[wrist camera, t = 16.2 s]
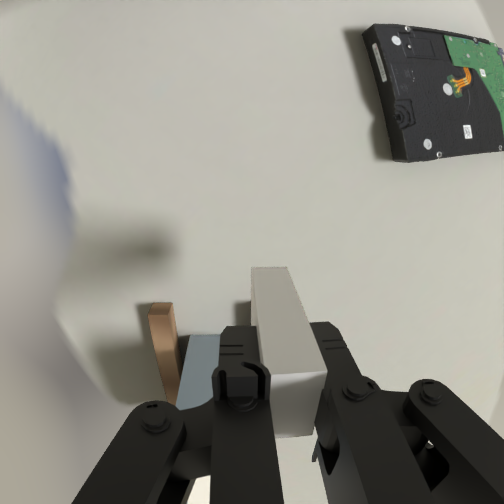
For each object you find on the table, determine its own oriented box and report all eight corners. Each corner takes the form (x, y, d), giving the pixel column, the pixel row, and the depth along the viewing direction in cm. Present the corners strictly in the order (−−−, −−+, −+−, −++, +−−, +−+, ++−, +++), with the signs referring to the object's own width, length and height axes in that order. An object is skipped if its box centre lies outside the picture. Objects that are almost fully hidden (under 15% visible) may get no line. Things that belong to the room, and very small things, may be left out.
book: (190, 334, 23) (164, 466, 11) (241, 333, 23) (248, 468, 11) (202, 411, 26) (194, 523, 14) (244, 410, 26) (251, 523, 14)
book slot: (153, 302, 22) (109, 394, 12) (273, 300, 22) (298, 396, 13) (180, 423, 26) (168, 507, 17) (270, 422, 26) (282, 507, 17)
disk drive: (389, 164, 20) (506, 147, 20) (408, 166, 17) (526, 149, 17) (356, 35, 17) (483, 46, 16) (370, 22, 14) (501, 41, 14)
